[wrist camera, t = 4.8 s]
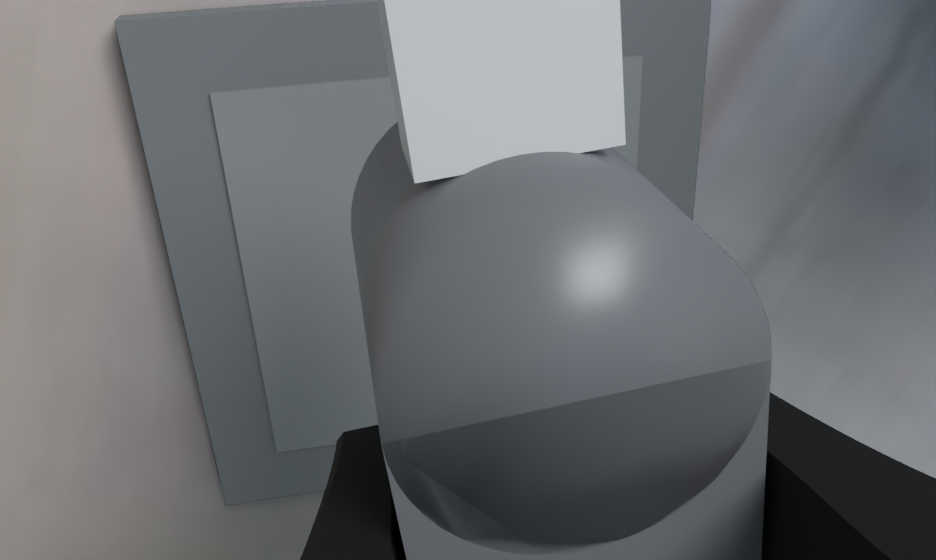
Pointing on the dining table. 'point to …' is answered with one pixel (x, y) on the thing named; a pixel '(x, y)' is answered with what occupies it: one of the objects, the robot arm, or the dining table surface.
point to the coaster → (319, 202)
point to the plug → (548, 306)
